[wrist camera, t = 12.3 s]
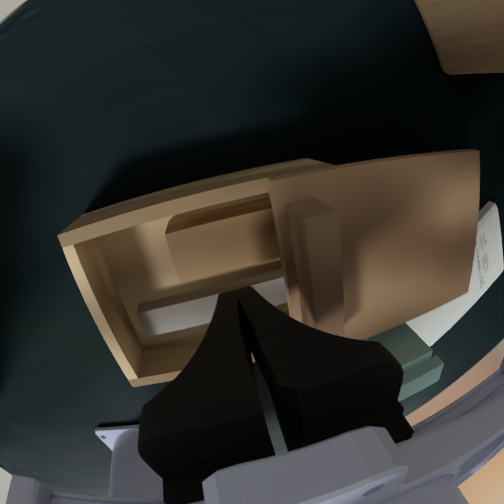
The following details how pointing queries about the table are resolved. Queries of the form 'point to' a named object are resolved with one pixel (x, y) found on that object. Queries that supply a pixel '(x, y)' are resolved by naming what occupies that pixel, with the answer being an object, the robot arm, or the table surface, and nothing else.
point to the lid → (377, 239)
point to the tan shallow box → (176, 264)
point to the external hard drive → (482, 277)
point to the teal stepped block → (411, 358)
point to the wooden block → (466, 34)
